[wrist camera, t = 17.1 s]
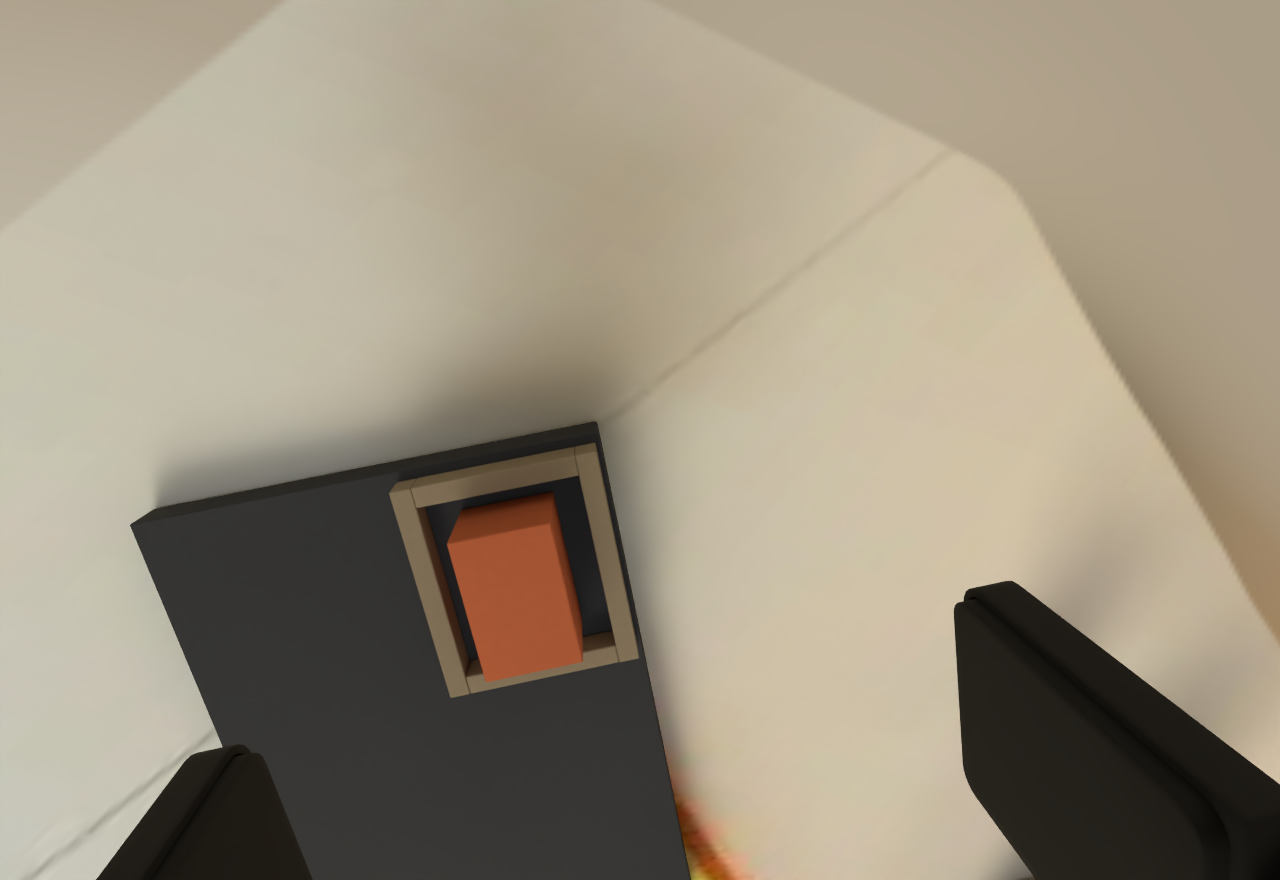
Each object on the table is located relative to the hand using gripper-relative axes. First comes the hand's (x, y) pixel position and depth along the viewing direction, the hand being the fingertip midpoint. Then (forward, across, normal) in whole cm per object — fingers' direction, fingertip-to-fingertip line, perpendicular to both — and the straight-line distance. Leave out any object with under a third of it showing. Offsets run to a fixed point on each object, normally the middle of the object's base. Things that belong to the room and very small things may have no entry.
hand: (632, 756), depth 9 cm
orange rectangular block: (+24, +5, +8) cm, 26 cm away
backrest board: (+26, +11, +17) cm, 33 cm away
